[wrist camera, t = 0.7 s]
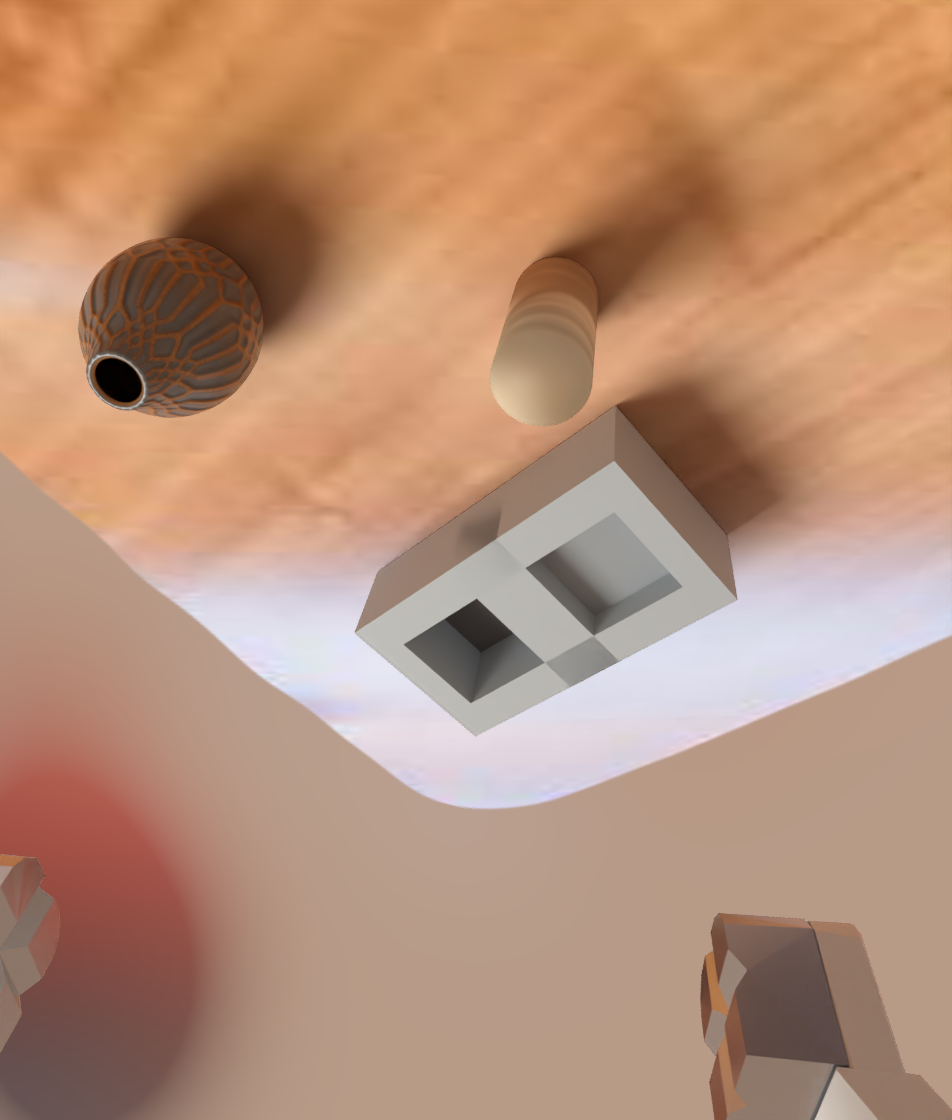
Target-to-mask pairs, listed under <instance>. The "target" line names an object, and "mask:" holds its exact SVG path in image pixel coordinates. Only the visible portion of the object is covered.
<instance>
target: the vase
mask: <svg viewBox="0 0 952 1120" xmlns="http://www.w3.org/2000/svg"><path fill="white" fill-rule="evenodd" d="M78 329H79V340H80V345H81V349H82V353H83V356H84V359H85V361H86V363H87V368H86V373H87V379H88V382H89V384H90V386H91V388H92V390H93V391H94V393H95V394H96V395H97V396H98V397H99V398H100V399H101V400H102V401H104V402H105V403H106V404H108V405H110V406H112V407H114V408H117V409H120V410H136V411H138V412H141V413H145V414H148V415H152V416H158V417H168V418H174V417H184V416H190V415H194V414H197V413H200V412H203V411H206V410H208V409H210V408H212V407H214V406H216V405H218V404H220V403H222V402H223V401H225V400H226V399H227V398H229V397H230V396H231V395H232V394H233V393H235V392H236V391H237V389H238V388H239V387H240V386H241V385H242V384H243V383H244V381H245V380H246V379H247V377H248V376H249V374H250V373H251V371H252V369H253V367H254V366H255V364H256V362H257V359H258V356H259V353H260V350H261V346H262V341H263V329H264V322H263V314H262V309H261V304H260V301H259V298H258V295H257V293H256V290H255V288H254V286H253V285H252V283H251V281H250V280H249V278H248V277H247V275H246V274H245V273H244V271H243V270H242V269H241V268H240V267H239V266H238V265H237V264H236V263H235V262H234V261H233V260H232V259H230V258H229V257H228V256H227V255H225V254H224V253H222V252H221V251H219V250H217V249H215V248H214V247H211V246H209V245H207V244H204V243H201V242H198V241H194V240H190V239H184V238H160V239H153V240H148V241H145V242H142V243H139V244H137V245H135V246H132V247H130V248H128V249H126V250H125V251H123V252H121V253H120V254H118V255H117V256H115V257H114V258H113V259H111V260H110V261H109V262H108V263H107V264H106V265H105V266H104V267H103V268H102V269H101V270H100V271H99V272H98V274H97V275H96V276H95V278H94V279H93V281H92V283H91V284H90V286H89V288H88V290H87V292H86V295H85V297H84V300H83V303H82V306H81V310H80V316H79V328H78Z"/></svg>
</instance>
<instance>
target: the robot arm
mask: <svg viewBox="0 0 952 1120" xmlns="http://www.w3.org/2000/svg"><path fill="white" fill-rule="evenodd" d="M44 877H45V874H44V872H43V870H42V868H41V866H40V864H39V862H38V860H37V858H31V857H21V856H12V855H2V854H0V1052H1V1051H2V1049H3V1047H4V1045H5V1044H6V1042H7V1040H8V1038H9V1036H10V1035H11V1033H12V1031H13V1029H14V1027H15V1026H16V1024H17V1022H18V1020H19V1018H20V1017H21V1006H20V998H19V995H20V994H22V993H23V992H24V991H26V990H27V989H28V988H30V987H31V986H32V985H34V984H35V983H36V982H38V981H39V980H40V979H41V978H42V977H43V975H44V973H45V971H46V969H47V967H48V965H49V963H50V961H51V960H52V958H53V956H54V953H55V949H56V945H57V941H58V937H59V933H60V913H59V910H58V907H57V904H56V902H55V900H54V899H53V898H52V897H51V896H50V895H48V894H47V893H46V892H44V891H43V890H42V889H41V888H39V885H40V883H41V882H42V880H43V878H44ZM711 938H712V945H713V951H712V952H710V953H709V954H707V955H706V956H705V959H704V964H703V969H702V974H701V976H702V977H701V994H700V1001H701V1018H702V1025H703V1026H702V1027H703V1035H704V1042H705V1043H706V1044H707V1046H708V1047H709V1048H710V1049H711V1051H712V1052H713V1053H714V1054H715V1056H716V1059H715V1063H714V1067H713V1071H712V1074H711V1078H710V1090H711V1097H712V1104H713V1112H714V1119H715V1120H952V1109H951V1108H950V1107H949V1106H948V1105H947V1104H946V1103H945V1101H944V1100H943V1099H942V1098H941V1097H940V1096H939V1095H938V1094H937V1093H936V1092H935V1091H934V1090H933V1089H932V1087H931V1086H930V1085H929V1084H928V1083H927V1082H926V1081H925V1080H924V1079H923V1078H922V1077H921V1076H920V1075H915V1074H908V1073H905V1069H904V1066H903V1063H902V1060H901V1057H900V1054H899V1051H898V1048H897V1044H896V1041H895V1038H894V1035H893V1032H892V1029H891V1026H890V1023H889V1020H888V1016H887V1013H886V1010H885V1007H884V1004H883V1001H882V998H881V995H880V992H879V988H878V985H877V982H876V979H875V976H874V973H873V970H872V967H871V964H870V960H869V957H868V954H867V951H866V948H865V945H864V942H863V939H862V936H861V933H860V932H859V931H858V929H857V928H856V927H855V926H854V925H853V924H849V923H836V922H819V921H805V920H804V919H798V918H783V917H769V916H754V915H738V914H724V913H723V914H722V913H718V914H717V916H716V917H715V918H714V921H713V925H712V929H711Z"/></svg>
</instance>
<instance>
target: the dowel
mask: <svg viewBox="0 0 952 1120" xmlns="http://www.w3.org/2000/svg"><path fill="white" fill-rule="evenodd" d="M597 311H598V290H597V286H596V283H595V281H594V279H593V277H592V276H591V274H590V273H589V272H588V271H587V270H586V269H585V268H584V267H583V266H582V265H580V264H579V263H577V262H575V261H573V260H571V259H567V258H563V257H549V258H545V259H542V260H539V261H537V262H535V263H533V264H532V265H530V266H529V267H528V268H527V269H526V270H525V271H524V272H523V273H522V274H521V276H520V278H519V279H518V281H517V284H516V286H515V289H514V293H513V296H512V300H511V303H510V306H509V310H508V313H507V316H506V320H505V323H504V326H503V330H502V333H501V337H500V340H499V343H498V347H497V350H496V353H495V357H494V360H493V364H492V367H491V372H490V384H491V389H492V392H493V395H494V397H495V399H496V401H497V403H498V404H499V406H500V407H501V408H502V409H503V410H504V411H505V412H506V413H507V414H508V415H510V416H511V417H512V418H514V419H516V420H518V421H520V422H522V423H525V424H528V425H533V426H551V425H556V424H559V423H562V422H564V421H567V420H568V419H570V418H572V417H573V416H574V415H576V414H577V413H578V412H579V411H580V410H581V409H582V408H583V406H584V405H585V403H586V402H587V400H588V398H589V395H590V392H591V388H592V379H593V365H594V352H595V338H596V325H597Z"/></svg>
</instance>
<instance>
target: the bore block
mask: <svg viewBox="0 0 952 1120" xmlns="http://www.w3.org/2000/svg"><path fill="white" fill-rule="evenodd" d="M736 600H737V594H736V587H735V581H734V575H733V569H732V562H731V556H730V550H729V544H728V537H727V535H726V534H725V533H724V531H723V530H722V529H721V528H720V527H719V526H718V524H717V523H716V522H715V521H714V520H713V519H712V517H711V516H710V515H709V514H708V513H707V512H706V510H705V509H704V508H703V507H702V506H701V505H700V503H699V502H698V501H697V500H696V499H695V498H694V496H693V495H692V494H691V493H690V492H689V491H688V489H687V488H686V487H685V486H684V485H683V484H682V482H681V481H680V480H679V479H678V478H677V477H676V475H675V474H674V473H673V472H672V471H671V470H670V468H669V467H668V466H667V465H666V464H665V463H664V461H663V460H662V459H661V458H660V457H659V456H658V454H657V453H656V452H655V451H654V450H653V449H652V447H651V446H650V445H649V444H648V443H647V442H646V440H645V439H644V438H643V437H642V436H641V435H640V433H639V432H638V431H637V430H636V429H635V428H634V426H633V425H632V424H631V423H630V422H629V421H628V419H627V418H626V417H625V416H624V415H623V414H622V412H621V411H620V410H619V409H618V408H617V407H616V406H614V407H613V408H611V409H610V410H608V411H607V412H606V413H604V414H603V415H601V416H600V417H598V418H597V419H596V420H594V421H593V422H591V423H590V424H588V425H587V426H586V427H584V428H583V429H581V430H580V431H578V432H577V433H576V434H574V435H573V436H571V437H570V438H568V439H567V440H566V441H564V442H563V443H561V444H560V445H558V446H557V447H556V448H554V449H553V450H551V451H550V452H548V453H547V454H546V455H544V456H543V457H541V458H540V459H538V460H537V461H536V462H534V463H533V464H531V465H530V466H528V467H527V468H526V469H524V470H523V471H521V472H520V473H518V474H517V475H516V476H514V477H513V478H511V479H510V480H508V481H507V482H506V483H504V484H503V485H501V486H500V487H498V488H497V489H496V490H494V491H493V492H491V493H490V494H489V495H487V496H486V497H484V498H483V499H481V500H480V501H479V502H477V503H476V504H474V505H473V506H471V507H470V508H469V509H467V510H466V511H464V512H463V513H461V514H460V515H459V516H457V517H456V518H454V519H453V520H451V521H450V522H449V523H447V524H446V525H444V526H443V527H441V528H440V529H439V530H437V531H436V532H434V533H433V534H431V535H430V536H429V537H427V538H426V539H424V540H423V541H421V542H420V543H419V544H417V545H416V546H414V547H413V548H411V549H410V550H409V551H407V552H406V553H404V554H403V555H401V556H400V557H399V558H397V559H396V560H394V561H393V562H391V563H390V564H389V565H387V566H386V567H384V568H383V569H381V570H380V571H379V572H377V575H376V578H375V580H374V583H373V585H372V588H371V591H370V593H369V596H368V599H367V601H366V604H365V607H364V609H363V612H362V615H361V617H360V620H359V622H358V625H357V628H356V630H355V634H356V635H357V636H359V637H360V638H361V639H362V640H363V641H364V642H366V643H367V644H368V645H369V646H370V647H371V648H373V649H374V650H375V651H376V652H377V653H378V654H380V655H381V656H382V657H383V658H384V659H386V660H387V661H388V662H389V663H390V664H391V665H393V666H394V667H395V668H396V669H397V670H398V671H400V672H401V673H402V674H403V675H404V676H405V677H407V678H408V679H409V680H410V681H411V682H412V683H414V684H415V685H416V686H417V687H418V688H419V689H421V690H422V691H423V692H424V693H425V694H426V695H428V696H429V697H430V698H431V699H432V700H433V701H435V702H436V703H437V704H438V705H439V706H440V707H442V708H443V709H444V710H445V711H446V712H448V713H449V714H450V715H451V716H452V717H453V718H455V719H456V720H457V721H458V722H459V723H460V724H462V725H463V726H464V727H465V728H466V729H467V730H469V731H470V732H471V733H472V734H473V735H474V736H477V735H479V734H481V733H483V732H485V731H487V730H489V729H491V728H493V727H495V726H497V725H498V724H500V723H502V722H504V721H506V720H508V719H510V718H512V717H514V716H516V715H518V714H520V713H521V712H523V711H525V710H527V709H529V708H531V707H533V706H535V705H537V704H539V703H541V702H543V701H544V700H546V699H548V698H550V697H552V696H554V695H556V694H558V693H560V692H562V691H564V690H566V689H567V688H569V687H571V686H573V685H575V684H577V683H579V682H581V681H583V680H585V679H587V678H589V677H590V676H592V675H594V674H596V673H598V672H600V671H602V670H604V669H606V668H608V667H610V666H612V665H613V664H615V663H617V662H619V661H621V660H623V659H625V658H627V657H629V656H631V655H633V654H635V653H636V652H638V651H640V650H642V649H644V648H646V647H648V646H650V645H652V644H654V643H656V642H658V641H659V640H661V639H663V638H665V637H667V636H669V635H671V634H673V633H675V632H677V631H679V630H681V629H682V628H684V627H686V626H688V625H690V624H692V623H694V622H696V621H698V620H700V619H702V618H704V617H705V616H707V615H709V614H711V613H713V612H715V611H717V610H719V609H721V608H723V607H725V606H727V605H728V604H730V603H732V602H734V601H736Z"/></svg>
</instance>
